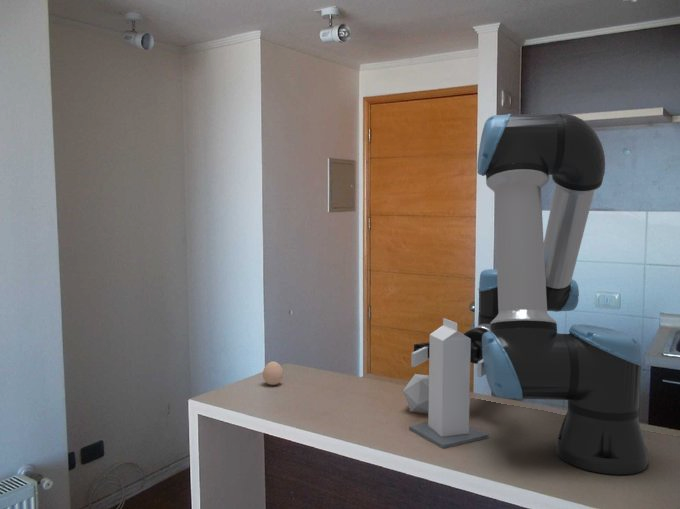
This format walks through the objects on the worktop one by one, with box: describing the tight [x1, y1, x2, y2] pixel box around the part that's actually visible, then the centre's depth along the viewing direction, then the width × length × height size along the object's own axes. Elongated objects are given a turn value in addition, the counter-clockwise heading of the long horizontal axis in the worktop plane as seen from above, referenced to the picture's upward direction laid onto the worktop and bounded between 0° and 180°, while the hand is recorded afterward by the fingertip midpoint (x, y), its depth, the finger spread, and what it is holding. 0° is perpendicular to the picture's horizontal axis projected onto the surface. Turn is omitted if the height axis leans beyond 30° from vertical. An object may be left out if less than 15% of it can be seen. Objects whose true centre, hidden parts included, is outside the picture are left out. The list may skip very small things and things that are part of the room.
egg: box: [262, 361, 284, 386], centre depth 154 cm, size 5×5×6 cm
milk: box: [427, 317, 471, 437], centre depth 120 cm, size 6×6×22 cm
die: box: [402, 373, 429, 415], centre depth 134 cm, size 8×9×10 cm
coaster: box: [408, 422, 489, 449], centre depth 121 cm, size 11×11×1 cm
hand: (445, 364), depth 118 cm, fingers open, 13 cm apart
